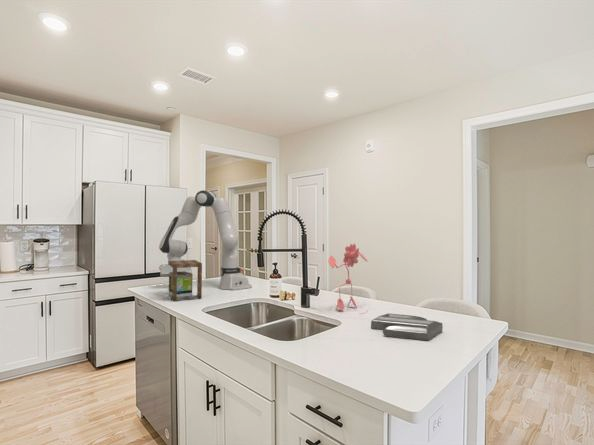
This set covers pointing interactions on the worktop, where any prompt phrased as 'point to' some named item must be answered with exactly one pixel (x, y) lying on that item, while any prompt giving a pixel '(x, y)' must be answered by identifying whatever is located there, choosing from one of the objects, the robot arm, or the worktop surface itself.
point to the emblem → (407, 326)
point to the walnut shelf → (176, 265)
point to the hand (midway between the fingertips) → (177, 280)
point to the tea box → (181, 284)
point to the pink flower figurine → (350, 259)
